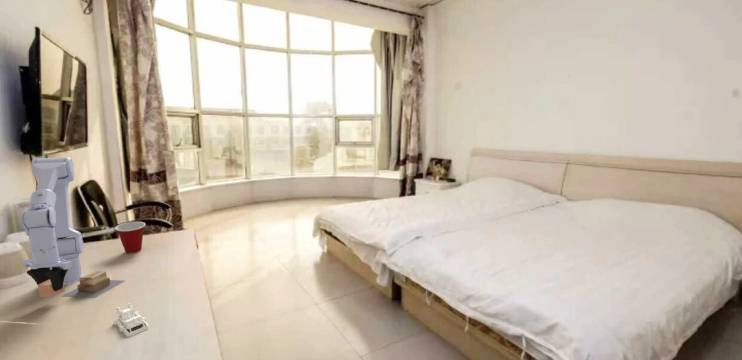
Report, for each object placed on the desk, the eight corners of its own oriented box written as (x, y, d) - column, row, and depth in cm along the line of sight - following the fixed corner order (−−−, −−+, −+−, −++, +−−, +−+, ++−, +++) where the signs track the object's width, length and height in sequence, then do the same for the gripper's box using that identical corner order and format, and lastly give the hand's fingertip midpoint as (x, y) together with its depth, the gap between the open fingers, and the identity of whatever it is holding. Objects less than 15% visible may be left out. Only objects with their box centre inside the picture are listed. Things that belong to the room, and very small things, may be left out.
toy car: (126, 339, 88) (124, 324, 88) (111, 322, 96) (109, 309, 95) (152, 328, 93) (150, 314, 92) (136, 313, 100) (134, 300, 100)
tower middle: (80, 284, 112) (78, 277, 112) (93, 277, 117) (92, 270, 116) (93, 285, 112) (92, 277, 111) (106, 278, 116) (105, 271, 116)
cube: (39, 296, 103) (37, 284, 102) (53, 290, 107) (51, 278, 106) (51, 297, 103) (49, 285, 102) (64, 291, 107) (62, 279, 106)
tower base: (78, 291, 112) (77, 284, 112) (94, 283, 118) (93, 276, 117) (94, 292, 111) (93, 285, 111) (110, 284, 117) (109, 277, 117)
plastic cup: (121, 258, 141) (118, 230, 139) (115, 251, 148) (112, 225, 146) (151, 250, 149) (148, 224, 147) (144, 244, 156) (141, 219, 154)
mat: (61, 296, 109) (61, 296, 109) (94, 279, 121) (94, 279, 121) (94, 298, 108) (94, 297, 108) (125, 281, 120) (125, 280, 120)
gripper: (8, 251, 99) (16, 294, 101) (52, 253, 98) (59, 297, 100) (33, 243, 106) (41, 283, 108) (75, 244, 104) (82, 285, 107)
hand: (51, 289), depth 105 cm, fingers closed on cube, 4 cm apart
